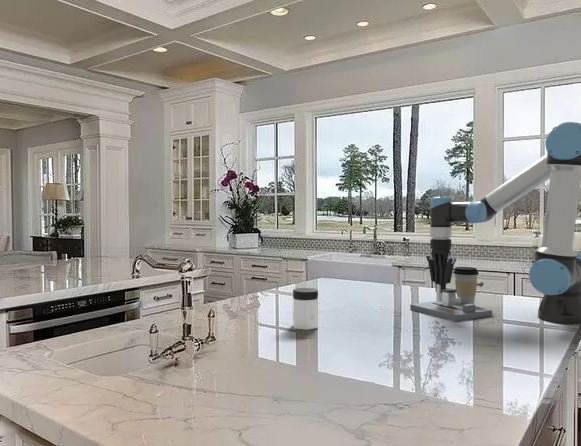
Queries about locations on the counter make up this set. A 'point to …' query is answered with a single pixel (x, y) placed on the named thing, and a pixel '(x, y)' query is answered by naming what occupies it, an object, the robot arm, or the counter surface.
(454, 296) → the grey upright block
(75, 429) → the counter surface
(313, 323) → the jar
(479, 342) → the counter surface
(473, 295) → the coffee cup
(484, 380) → the counter surface
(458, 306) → the console
